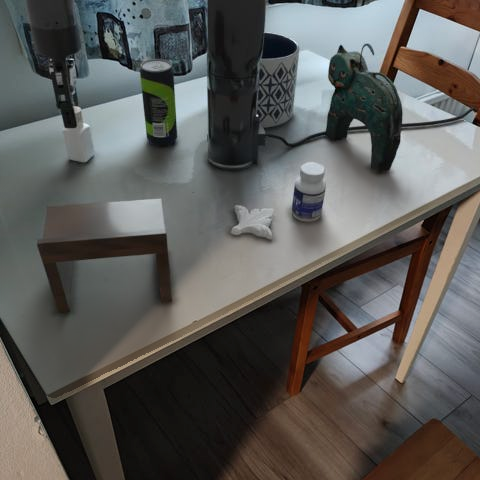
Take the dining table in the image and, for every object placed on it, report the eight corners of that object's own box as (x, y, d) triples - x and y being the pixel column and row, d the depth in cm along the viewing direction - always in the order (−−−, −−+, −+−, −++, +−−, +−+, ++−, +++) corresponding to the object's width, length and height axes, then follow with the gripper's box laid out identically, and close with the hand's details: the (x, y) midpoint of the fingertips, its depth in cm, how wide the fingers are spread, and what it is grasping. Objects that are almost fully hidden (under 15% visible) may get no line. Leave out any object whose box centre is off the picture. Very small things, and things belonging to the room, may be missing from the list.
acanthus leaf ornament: (234, 211, 92) (234, 201, 90) (273, 214, 91) (274, 204, 90) (230, 236, 86) (230, 227, 85) (272, 240, 86) (273, 230, 85)
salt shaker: (96, 154, 103) (87, 107, 96) (85, 164, 101) (76, 116, 94) (78, 150, 104) (68, 103, 97) (67, 160, 101) (56, 112, 94)
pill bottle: (289, 205, 93) (294, 160, 87) (318, 204, 94) (325, 159, 87) (293, 223, 90) (299, 177, 83) (323, 222, 90) (332, 176, 84)
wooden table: (166, 253, 83) (160, 186, 74) (172, 301, 76) (166, 233, 67) (62, 262, 81) (43, 194, 72) (58, 312, 73) (36, 243, 65)
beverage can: (183, 139, 108) (180, 64, 97) (162, 151, 105) (155, 74, 94) (162, 130, 111) (156, 55, 100) (140, 140, 108) (132, 64, 97)
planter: (207, 113, 117) (206, 44, 106) (253, 91, 125) (256, 26, 115) (262, 137, 110) (266, 66, 100) (306, 113, 118) (315, 45, 108)
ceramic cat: (316, 133, 112) (330, 31, 98) (340, 127, 114) (358, 27, 100) (374, 178, 100) (401, 70, 86) (400, 170, 103) (430, 64, 88)
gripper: (75, 34, 80) (92, 134, 92) (78, 5, 90) (93, 99, 102) (24, 35, 79) (48, 136, 91) (32, 5, 89) (53, 100, 100)
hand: (72, 116), depth 96 cm, fingers open, 8 cm apart
